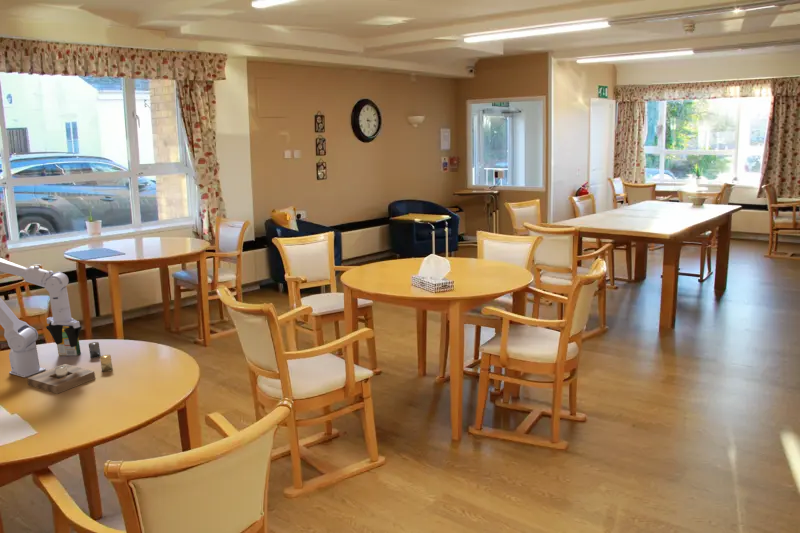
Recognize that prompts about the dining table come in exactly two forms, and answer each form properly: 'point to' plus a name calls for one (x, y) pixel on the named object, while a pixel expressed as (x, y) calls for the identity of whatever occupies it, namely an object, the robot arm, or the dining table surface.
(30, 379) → the socket board
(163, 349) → the dining table surface
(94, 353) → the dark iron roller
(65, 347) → the crayon box
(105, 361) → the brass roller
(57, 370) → the steel roller
